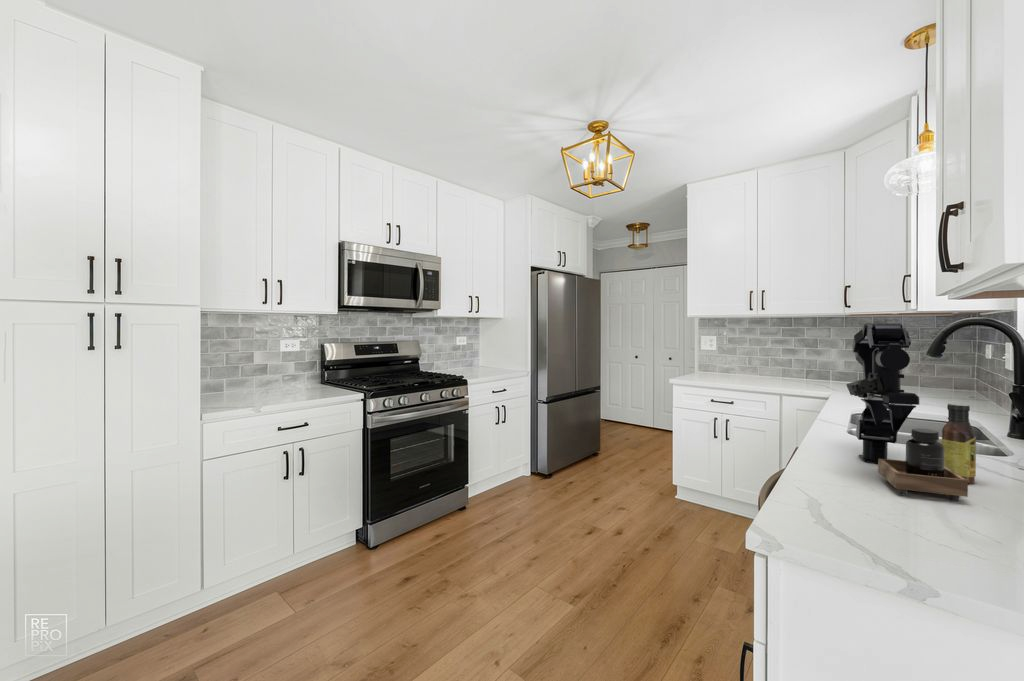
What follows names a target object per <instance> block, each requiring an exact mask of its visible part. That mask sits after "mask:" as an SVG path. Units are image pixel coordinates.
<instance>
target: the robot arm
mask: <svg viewBox="0 0 1024 681" xmlns="http://www.w3.org/2000/svg"><path fill="white" fill-rule="evenodd" d="M852 339H853V340H852V346H851V347H852V353H854V354H855V355H854V356H855V360H856V361H857V362H858V364H859V365H861V366H862V375H863V376H862V377H863V378H862V379H858V380H856V381H852V382H849V383H846V387H847V390H848V392H849V395H850V396H855V397H858V398H860V400H861V401H862V402H863V403H865V407H864V409H863V411H862V412H861V414H860V418H859V419H858V420H857V425H856V429H855V431H856V435H855V437H856V438H857V439H858V440H859V441H862V454H858V457H859V458H860V459H861V461H863V462H866V463H874V464H878V458H879V459H888V455H889V454H888V453H889V452H888V449H889V448H888V446H889V444H888V443H890V444H896V443H897V438H898V433H899V431H900V429H901V427H902V426H903V424H904V423H905V421H906V420H907V418H908V417H909V415H910V414H911V413H912V411H913V410H914V409H916V408H917V405H918V406H919V405H920V396H918V395H917V394H916V393H913V392H906V391H905V390H904V389H901V388H902V387H901V379H905V374H904V373H901V371H902V370H904V369H905V368H907V367H908V366H909V364H910V362H911V357H910V355H909V353H908V352H907V351H905V350H904V349H909V348H910V346H911V343H912V341H911V337H910V334H909V332H908V331H907V329H906V327H903V324H902V323H901V322H899V323H897V322H895V323H891V322H890V323H881V322H880V323H879V322H875V323H874V322H870V323H869V322H868V323H864V324H862V328H861V330H859V331H858V332H857V333H855V334H854V335H853V338H852Z"/></svg>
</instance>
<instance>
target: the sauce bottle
mask: <svg viewBox="0 0 1024 681" xmlns="http://www.w3.org/2000/svg"><path fill="white" fill-rule="evenodd" d="M970 407H971V406H970V405H969V404H964V403H955V402H954V403H953V402H951V403H947V410H948V412H947V413H948V417H947V420H948V421H947V422H946V423H945V425H944V426H943V427H942V429H941V434H942V435H941V444H942V445H943V446H944V466H945V467H947V468H948V469H950V470H952V471H953V472H955V473H956V474H958V475H960V476H961V477H963V478H964V479H966V480H968V484H973V483H975V482H976V478H975V477H976V474H977V473H976V470H977V468H976V466H977V464H976V462H977V440H976V439H977V435H976V434H975V431H974V429H973V427H972V425H971V423H970V419H969V418H970V417H969V416H970V410H971V408H970Z"/></svg>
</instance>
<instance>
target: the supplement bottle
mask: <svg viewBox="0 0 1024 681" xmlns="http://www.w3.org/2000/svg"><path fill="white" fill-rule="evenodd" d="M939 434H940V433H939V431H937V430H934V429H930V428H929V429H928V428H917V427H916V428H912V429H911V434H910V437H911V438H910V439H908V440H906V443H905V461H906V474H916V475H926V476H936V477H944V446H943V445H942V442H939V440H940V437H939V436H940V435H939Z"/></svg>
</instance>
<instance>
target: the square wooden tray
mask: <svg viewBox="0 0 1024 681" xmlns="http://www.w3.org/2000/svg"><path fill="white" fill-rule="evenodd" d="M877 472H878V474H880V476H882V477H883V478H884V480H885V482H886V483H889V484H890V485H892V486H893V487H894V488H895V489H896V490H897V492H898V494H899V495H901V496H907V495H908V491H914V492H923V493H931V494H938V495H947V497H948V499H949V500H950V501H952V502H959V501H960V497H965V498H968V495H969V493H968V492H969V491H968V490H969V486H968V485H969V483H968V480H966V479H964V478H963V477H961V476H960V475H958V474H956V473H955V472H953V471H952V470H950V469H948V468H947V467H945V466H944V477H936V476H926V475H916V474H906V460H899V459H889V458H887V459H879V458H878V463H877Z"/></svg>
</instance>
